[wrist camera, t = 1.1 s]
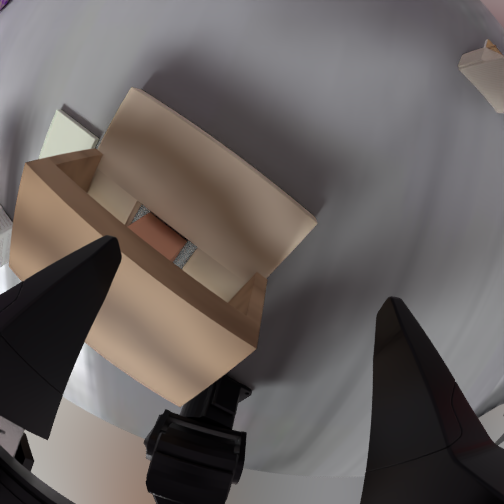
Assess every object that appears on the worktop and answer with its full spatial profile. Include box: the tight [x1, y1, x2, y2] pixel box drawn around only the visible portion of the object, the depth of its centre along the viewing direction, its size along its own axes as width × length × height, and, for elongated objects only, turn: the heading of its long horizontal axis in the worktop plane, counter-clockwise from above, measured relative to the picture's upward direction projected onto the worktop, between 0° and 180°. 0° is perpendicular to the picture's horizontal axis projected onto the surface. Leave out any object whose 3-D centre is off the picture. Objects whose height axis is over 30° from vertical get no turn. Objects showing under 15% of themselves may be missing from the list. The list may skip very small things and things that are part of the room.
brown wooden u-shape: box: [9, 148, 267, 407], centre depth 17 cm, size 9×17×7 cm, turn 52°
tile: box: [39, 110, 99, 159], centre depth 20 cm, size 9×6×1 cm
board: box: [86, 87, 318, 303], centre depth 21 cm, size 16×17×2 cm
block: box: [128, 213, 187, 262], centre depth 19 cm, size 4×4×7 cm
